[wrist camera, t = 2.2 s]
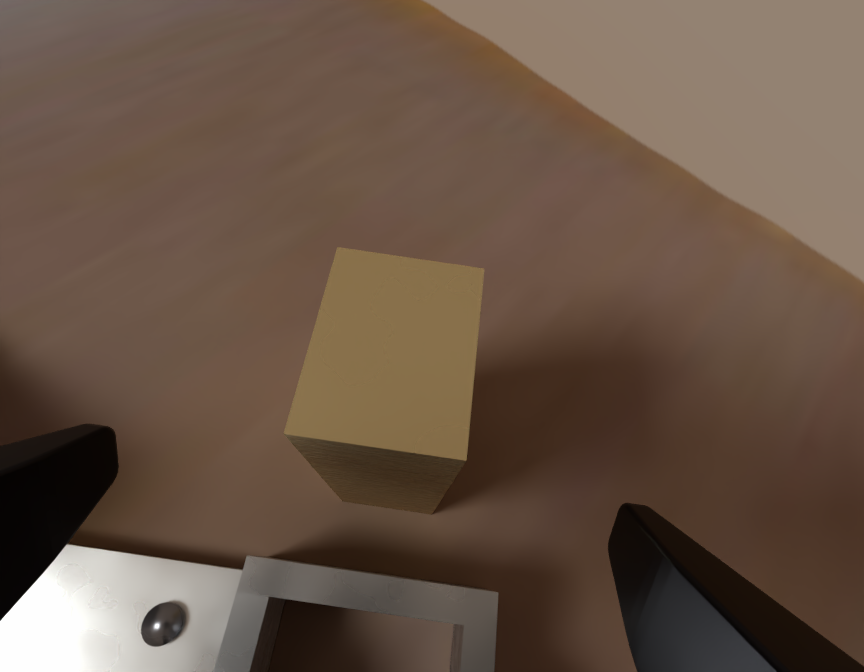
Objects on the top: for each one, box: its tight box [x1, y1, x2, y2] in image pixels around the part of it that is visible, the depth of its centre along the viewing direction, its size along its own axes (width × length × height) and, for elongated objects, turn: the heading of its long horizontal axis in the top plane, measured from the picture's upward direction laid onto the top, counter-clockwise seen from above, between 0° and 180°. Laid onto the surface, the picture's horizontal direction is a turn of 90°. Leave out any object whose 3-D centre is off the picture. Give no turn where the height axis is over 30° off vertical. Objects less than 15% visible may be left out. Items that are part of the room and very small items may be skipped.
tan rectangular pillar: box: [284, 247, 484, 514], centre depth 14 cm, size 4×4×10 cm
